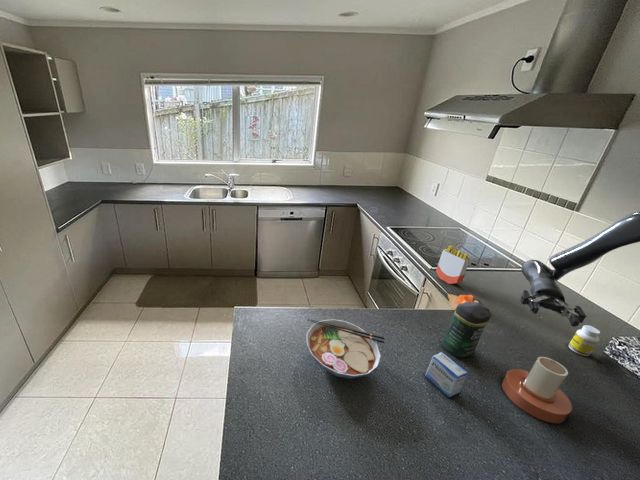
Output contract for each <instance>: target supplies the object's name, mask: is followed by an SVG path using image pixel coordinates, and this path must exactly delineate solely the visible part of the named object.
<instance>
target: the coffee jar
mask: <svg viewBox="0 0 640 480" xmlns="http://www.w3.org/2000/svg"><path fill="white" fill-rule="evenodd" d="M478 302H479V301H478ZM478 302H466V303H461V304H458V306H457V307H456V309H454V313H453V317H452V320H451V322H450V324H449V326H448V328H447V330H446V333H445V334H444V336H443V338H442V340H441V345H442V346H443V347H444V349H445V350H447V352H448V353H450V354H451V355H453V356H456V357H458V358H464V357H465V358H466V357H469V356H471V355H473V354H474V353H475V351H476V349H477V347H478V343H479V341H480V339H481V336H482V333H483V332H484V330H485V328H486V326H487V325H488V323H489V322H490V319H491V317H492V313H491V311H490V309H489V308H487V307H486V306H485V305H483V304H481V303H480V302H479V303H478Z"/></svg>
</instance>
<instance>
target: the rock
mask: <svg viewBox="0 0 640 480" xmlns="http://www.w3.org/2000/svg"><path fill="white" fill-rule="evenodd" d="M447 298H448V301H449V305H450V309H452V310H455V309H456V307H457V306H458V304H461V303H466V302H478V303H480V302H479V301H478V300H475V298H474V296H473V295H472V294H460V295H456V294H452V293H448V292H447Z"/></svg>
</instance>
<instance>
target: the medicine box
mask: <svg viewBox="0 0 640 480" xmlns="http://www.w3.org/2000/svg"><path fill="white" fill-rule="evenodd" d="M468 374H469V373H468V372H467V370H465V369H464V368H463V367H461V366H460V365H459V364H457V363H456V362H455V361H454V360H453V359H451V358H450V357H449V356H448V355H446V354H445V353H444V352H439V353H436V354H435V355H433V356H432V357H431V360H430V363H429V366H428V368H427V370H426V373H425V377H426V378H427V380H429V381H430V382H431V383H432V384H433V385H435V387H437V388H438V389H439V390H440V391H441V392H442V393H443V394H444V395H446V396H447V397H448V398H451V397H453V396H455V395H457V394H459V393H460V391H461V388H462V386H463V384H464V382H465V380H466V378H467V376H468Z"/></svg>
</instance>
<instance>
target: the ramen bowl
mask: <svg viewBox="0 0 640 480" xmlns="http://www.w3.org/2000/svg"><path fill="white" fill-rule="evenodd" d="M307 321H308V322H312V323H314V324H311V326H310V328H309V329H308V331H306V346H307V348H308V350H309V352H310V354H311V356H312V359H313V360H314V361H315V362H316V363H317V364H318V365H319V366H320V367H321V368H322V369H324V370H325V371H326V372H328V373H330V374H332V375H334V376H335V377H339V378H344V379H356V378H360V377H365V376H368V375H369V374H370V373H372V372H373V370H375V369H376V368H378V366H379V363H380V360H381V358H382V357H381V356H382V355H381V353H380V349H379V346H378V343H381V344H385V336H384V335H383V336H382V335H380V334H375V333H369V332H366V331H365V330H364V329H362V328H361V327H359V326H358V325H357V324H353V323H351V322H348V321H346V320H341V319H333V318H332V319H331V318H330V319H324V320H320V321H319V320H314V319H310V318H307ZM376 342H377V343H376Z"/></svg>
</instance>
